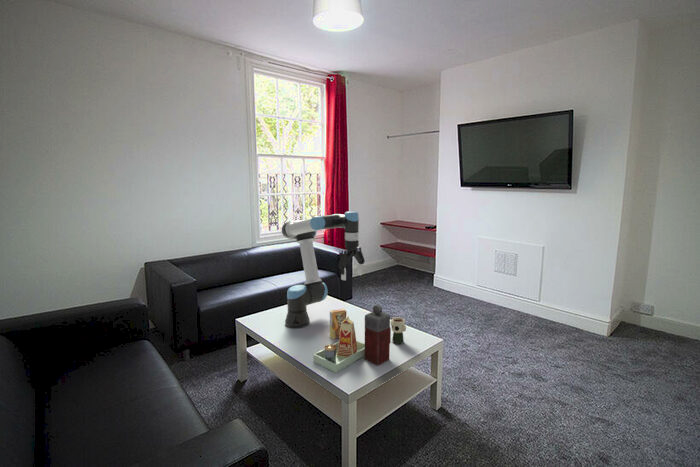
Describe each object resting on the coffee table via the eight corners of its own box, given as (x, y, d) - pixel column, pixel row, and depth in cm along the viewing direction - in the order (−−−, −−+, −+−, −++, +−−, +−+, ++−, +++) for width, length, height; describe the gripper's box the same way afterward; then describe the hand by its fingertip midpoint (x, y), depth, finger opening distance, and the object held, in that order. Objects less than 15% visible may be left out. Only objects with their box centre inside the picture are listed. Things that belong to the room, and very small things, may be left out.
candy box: (343, 333, 201) (343, 308, 199) (346, 336, 197) (346, 310, 195) (329, 336, 197) (329, 310, 195) (332, 339, 193) (332, 313, 191)
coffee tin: (322, 363, 166) (322, 347, 165) (330, 358, 171) (330, 343, 169) (330, 367, 163) (330, 351, 162) (338, 362, 167) (338, 346, 166)
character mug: (386, 340, 192) (386, 318, 190) (395, 337, 196) (395, 315, 194) (400, 347, 183) (401, 324, 181) (409, 343, 188) (410, 321, 186)
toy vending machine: (392, 357, 173) (393, 304, 169) (377, 365, 165) (378, 309, 161) (379, 351, 179) (379, 299, 175) (364, 359, 171) (364, 305, 167)
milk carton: (354, 359, 170) (354, 320, 168) (336, 357, 172) (335, 318, 170) (357, 350, 179) (357, 313, 176) (340, 348, 181) (340, 312, 178)
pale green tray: (313, 362, 169) (313, 354, 168) (347, 344, 187) (347, 337, 187) (336, 373, 159) (336, 364, 158) (369, 352, 178) (369, 345, 177)
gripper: (341, 243, 177) (341, 283, 180) (370, 237, 196) (370, 274, 199) (331, 242, 182) (331, 280, 185) (360, 236, 201) (360, 271, 204)
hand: (351, 277), depth 192 cm, fingers open, 13 cm apart
